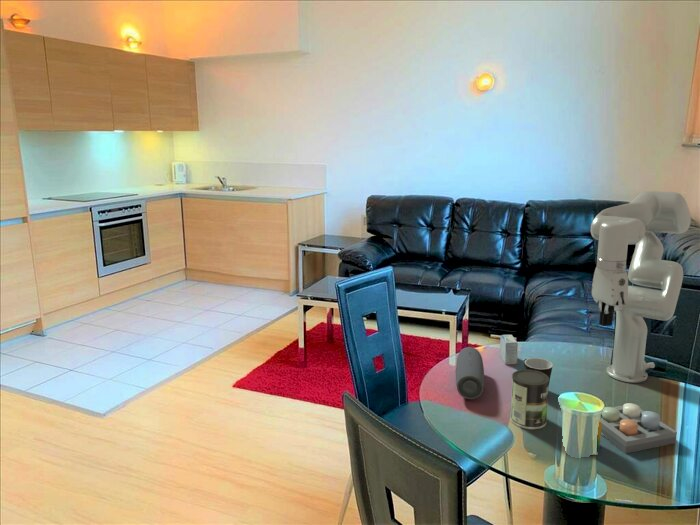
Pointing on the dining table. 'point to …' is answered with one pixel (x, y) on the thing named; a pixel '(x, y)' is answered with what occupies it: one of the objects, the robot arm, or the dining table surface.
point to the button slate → (650, 420)
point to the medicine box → (508, 349)
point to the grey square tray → (643, 437)
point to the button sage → (610, 414)
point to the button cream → (631, 410)
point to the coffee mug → (539, 365)
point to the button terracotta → (628, 427)
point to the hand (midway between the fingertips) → (605, 324)
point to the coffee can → (529, 399)
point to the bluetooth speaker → (469, 373)
